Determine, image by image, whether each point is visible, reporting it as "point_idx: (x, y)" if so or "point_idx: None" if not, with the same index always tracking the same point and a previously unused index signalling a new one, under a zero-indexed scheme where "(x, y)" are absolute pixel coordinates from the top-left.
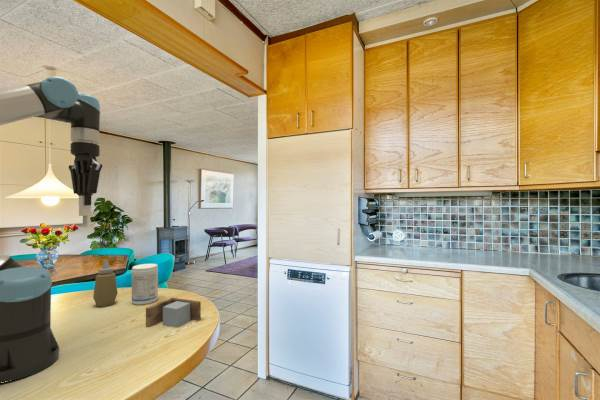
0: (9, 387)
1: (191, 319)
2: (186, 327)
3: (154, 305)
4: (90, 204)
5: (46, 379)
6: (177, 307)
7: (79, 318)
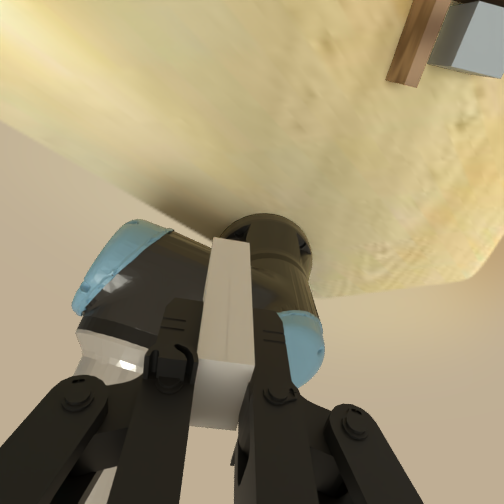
0: None
1: None
2: None
3: (421, 60)
4: (277, 320)
5: (335, 272)
6: (498, 65)
7: (155, 53)
